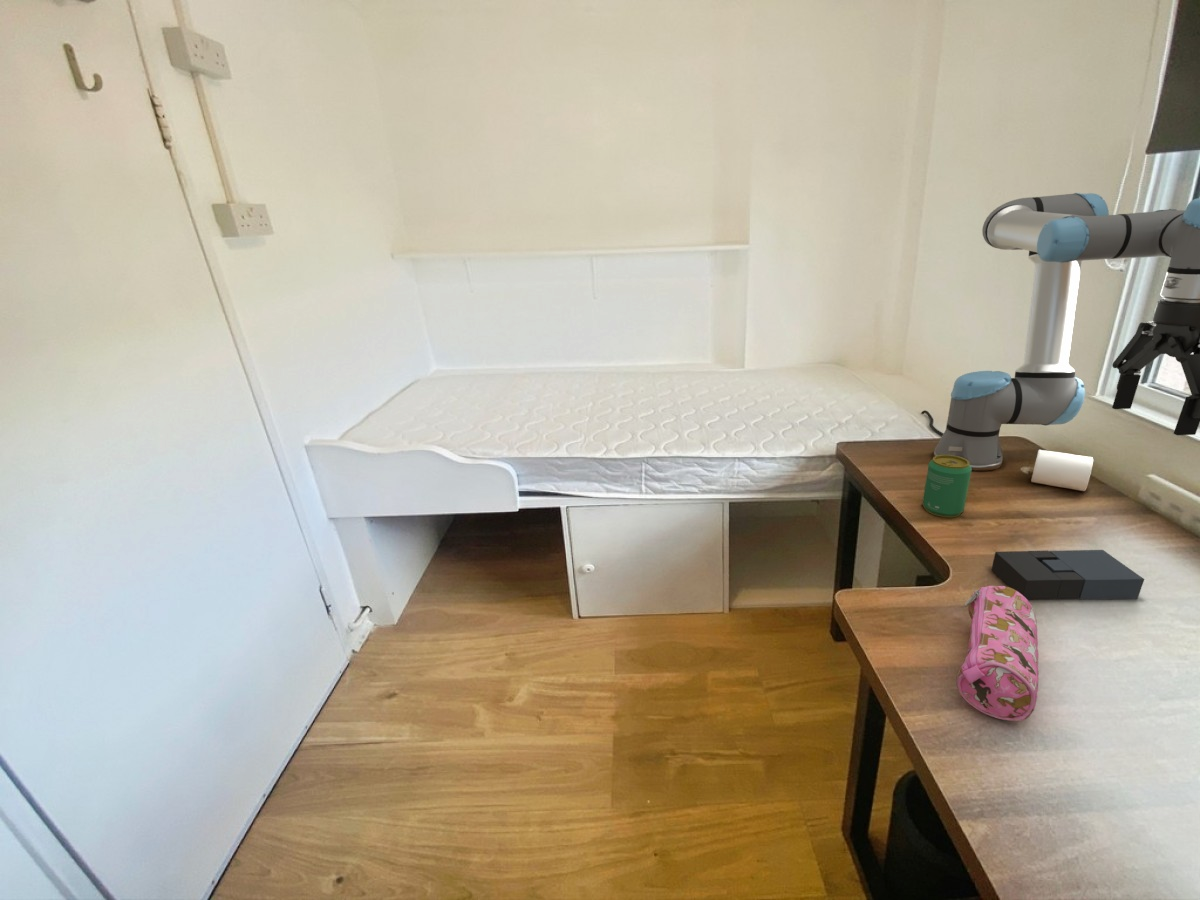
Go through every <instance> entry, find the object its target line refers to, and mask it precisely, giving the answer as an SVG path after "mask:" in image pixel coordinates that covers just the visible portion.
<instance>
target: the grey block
mask: <svg viewBox="0 0 1200 900" xmlns="http://www.w3.org/2000/svg"><path fill="white" fill-rule="evenodd" d="M1048 551H1049V552H1050V553H1052V554H1053V555H1054V556H1055V557H1056V559H1055V560H1042V564H1043V565H1044V566H1046V567H1047V568H1048V569H1049V570H1050V571H1051V572H1053V573H1055V572H1075V573H1077V574H1078V575H1079V576H1080V577H1082V578H1083V579H1084V582H1083V585H1082V589H1081V592H1080V595H1079V599H1078V600H1080V601H1081V600H1082V601H1083V600H1138V599H1139V596H1140V593H1141V591H1142V587H1143V584H1144V582H1145V578H1143V576H1141V575H1139V574H1138V573H1136V572H1135V571H1134V570H1132V569H1131V568H1129V567H1128V566H1126V565H1125V564H1123V563H1122V562H1121V561H1120V560H1118V559H1117V558H1116V557H1114V556H1112V555H1111V554H1110V553H1108V552H1107V551H1105V550H1104V549H1076V550H1075V549H1071V550H1069V549H1068V550H1048Z"/></svg>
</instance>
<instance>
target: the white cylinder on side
mask: <svg viewBox="0 0 1200 900" xmlns="http://www.w3.org/2000/svg"><path fill="white" fill-rule="evenodd" d="M1093 465H1094V457H1093V456H1086V455H1079V454H1073V453H1066V452H1059V451H1051V450H1046V449H1037V454H1036V458H1035V463H1034V466H1033V471H1032V475H1031V479H1030V482H1031V483H1035V484H1040V485H1046V486H1050V487H1051V486H1052V487H1057V488H1064V489H1068V490H1074V491H1080V492H1085V491H1087V488H1088V485H1089V481H1090V478H1091V474H1092V470H1093Z"/></svg>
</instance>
